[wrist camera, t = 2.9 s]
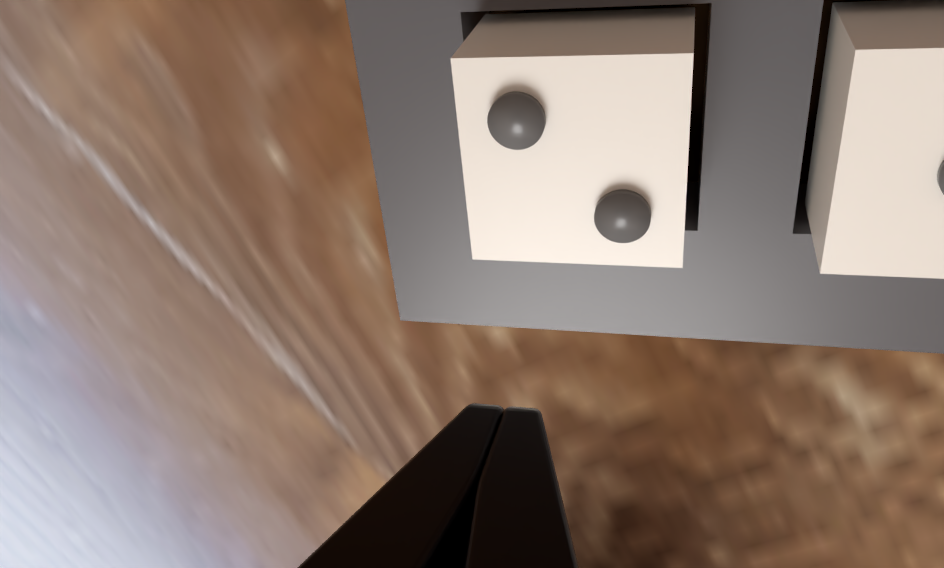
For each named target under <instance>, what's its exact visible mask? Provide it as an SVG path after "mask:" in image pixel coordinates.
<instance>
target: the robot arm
mask: <svg viewBox="0 0 944 568" xmlns="http://www.w3.org/2000/svg"><path fill="white" fill-rule="evenodd" d="M298 568H579V567H578V563H577V558H576V554H575V550H574V546H573V542H572V538H571V534H570V529H569V525H568V521H567V517H566V513H565V509H564V505H563V501H562V496H561V492H560V488H559V484H558V480H557V476H556V472H555V468H554V463H553V459H552V455H551V451H550V447H549V443H548V439H547V434H546V430H545V426H544V422H543V418H542V414H541V412H540V411H539V410H538V409H535V408H523V407H508V408H506V409H505V410H504V409H503V408H502V407H501V406H498V405H487V404H470V405H468V406H466V407H465V408H464V409H463V410H462V411H461V412H460V413H459V414H458V415H457V416H456V417H455V418H454V419H453V420H452V421H451V422H450V423H448V424H447V425H446V426H445V427H444V428H443V429H442V430H441V431H440V432H439V433H438V434H437V435H436V436H435V437H434V438H433V439H432V440H431V441H430V442H429V443H428V444H427V445H425V446H424V447H423V448H422V449H421V450H420V451H419V452H418V453H417V454H416V455H415V456H414V457H413V458H412V459H411V460H410V461H409V462H408V463H407V464H406V465H405V466H403V467H402V468H401V469H400V470H399V471H398V472H397V473H396V474H395V475H394V476H393V477H392V478H391V479H390V480H389V481H388V482H387V483H386V484H385V485H384V486H383V487H382V488H380V489H379V490H378V491H377V492H376V493H375V494H374V495H373V496H372V497H371V498H370V499H369V500H368V501H367V502H366V503H365V504H364V505H363V506H362V507H361V508H360V509H358V510H357V511H356V512H355V513H354V514H353V515H352V516H351V517H350V518H349V519H348V520H347V521H346V522H345V523H344V524H343V525H342V526H341V527H340V528H339V529H338V530H337V531H335V532H334V533H333V534H332V535H331V536H330V537H329V538H328V539H327V540H326V541H325V542H324V543H323V544H322V545H321V546H320V547H319V548H318V549H317V550H316V551H315V552H313V553H312V554H311V555H310V556H309V557H308V558H307V559H306V560H305V561H304V562H303V563H302V564H301V565H300V566H299V567H298Z"/></svg>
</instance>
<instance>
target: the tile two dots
mask: <svg viewBox="0 0 944 568" xmlns="http://www.w3.org/2000/svg"><path fill="white" fill-rule="evenodd" d="M694 29H695V7H684V8H655V9H626V10H597V11H568V12H539V13H510V14H485V15H484V16H483V18H482V19H481V20H480V22H479V23H478V24H477V25H476V27H475V28H474V29H473V30H472V32H471V33H470V34H469V35H468V37H467V38H466V39H465V41H464V42H463V43H462V44H461V46H460V47H459V48H458V49H457V51H456V52H455V53H454V54H453V56H452V57H451V58H450V59H451V68H452V77H453V87H454V96H455V105H456V114H457V123H458V132H459V141H460V150H461V159H462V169H463V178H464V187H465V196H466V205H467V214H468V223H469V232H470V242H471V251H472V259H473V260H498V261H522V262H547V263H571V264H595V265H620V266H644V267H668V268H683V250H684V231H685V212H686V192H687V173H688V154H689V134H690V115H691V96H692V77H693V57H694Z"/></svg>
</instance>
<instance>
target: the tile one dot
mask: <svg viewBox="0 0 944 568" xmlns="http://www.w3.org/2000/svg"><path fill="white" fill-rule="evenodd" d="M805 206H806V211H807V216H808V220H809V225H810V230H811V234H812V239H813V244H814V248H815V253H816V257H817V262H818V267H819V271H820V274H839V275H864V276H888V277H912V278H937V279H944V0H887V1H858V2H833V3H832V10H831V17H830V25H829V32H828V39H827V46H826V53H825V61H824V68H823V75H822V82H821V89H820V96H819V104H818V111H817V118H816V125H815V132H814V140H813V147H812V154H811V161H810V168H809V175H808V183H807V190H806V197H805Z"/></svg>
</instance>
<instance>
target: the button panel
mask: <svg viewBox="0 0 944 568" xmlns="http://www.w3.org/2000/svg"><path fill="white" fill-rule="evenodd" d="M823 1H824V0H345V3H346V8H347V14H348V20H349V26H350V32H351V37H352V43H353V49H354V55H355V60H356V66H357V72H358V78H359V84H360V89H361V95H362V101H363V107H364V112H365V118H366V124H367V130H368V136H369V141H370V147H371V153H372V159H373V164H374V170H375V176H376V182H377V188H378V193H379V199H380V205H381V211H382V217H383V222H384V228H385V234H386V240H387V245H388V251H389V257H390V263H391V269H392V274H393V280H394V286H395V292H396V297H397V303H398V309H399V315H400V320H403V321H419V322H436V323H452V324H469V325H485V326H501V327H518V328H534V329H550V330H567V331H583V332H599V333H616V334H632V335H649V336H665V337H681V338H698V339H714V340H730V341H747V342H763V343H779V344H796V345H812V346H829V347H845V348H861V349H878V350H894V351H910V352H927V353H943V354H944V279H937V278H912V277H888V276H864V275H839V274H820V271H819V267H818V262H817V257H816V253H815V248H814V244H813V239H812V234H811V230H810V225H809V220H808V216H807V211H806V206H805V197H806V190H807V184H804V183H799V181H800V173H801V166H802V158H803V151H804V143H805V136H806V128H807V121H808V113H809V106H810V98H811V91H812V83H813V76H814V68H815V61H816V53H817V46H818V38H819V31H820V23H821V16H822V8H823ZM702 3H709V13H708V30H707V46H706V63H705V80H704V96H703V113H702V130H701V146H700V163H699V180H698V182H687V192H686V212H685V231H684V250H683V268H668V267H644V266H620V265H595V264H571V263H547V262H522V261H498V260H473V259H472V251H471V242H470V232H469V223H468V214H467V205H466V196H465V187H464V178H463V169H462V159H461V150H460V141H459V132H458V123H457V114H456V105H455V96H454V87H453V77H452V68H451V59H450V58H451V57H452V56H453V54H454V53H455V52H456V51H457V49H458V48H459V47H460V46H461V44H462V43H463V42H464V41H465V39H466V38H467V37H468V35H469V34H470V33H471V32H472V30H473V29H474V28H475V27H476V25H477V24H478V23H479V22H480V20H481V19H482V18H483V16H484V15H485V14H489V11H504V10H533V9H561V8H589V7H617V6H645V5H674V4H702Z"/></svg>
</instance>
